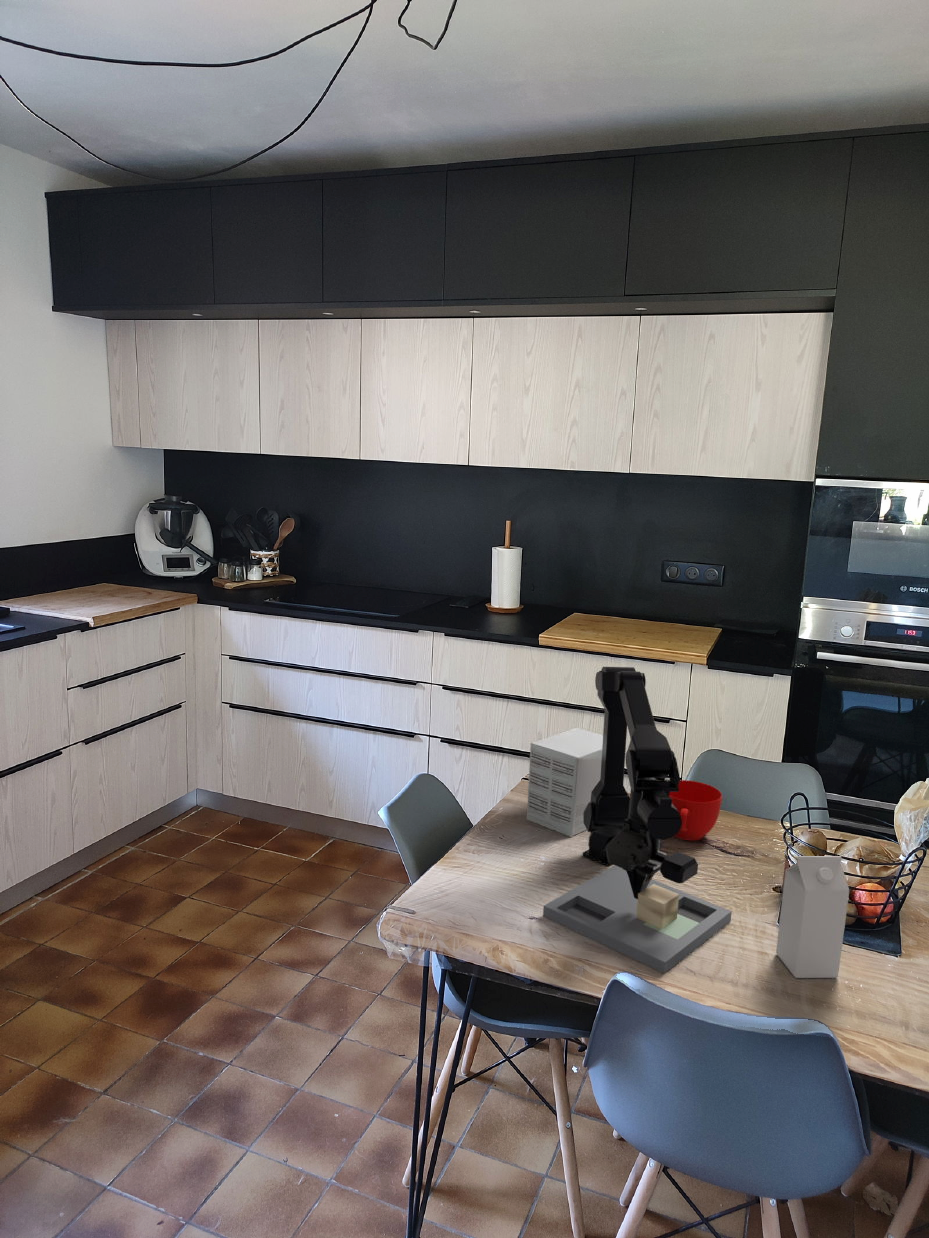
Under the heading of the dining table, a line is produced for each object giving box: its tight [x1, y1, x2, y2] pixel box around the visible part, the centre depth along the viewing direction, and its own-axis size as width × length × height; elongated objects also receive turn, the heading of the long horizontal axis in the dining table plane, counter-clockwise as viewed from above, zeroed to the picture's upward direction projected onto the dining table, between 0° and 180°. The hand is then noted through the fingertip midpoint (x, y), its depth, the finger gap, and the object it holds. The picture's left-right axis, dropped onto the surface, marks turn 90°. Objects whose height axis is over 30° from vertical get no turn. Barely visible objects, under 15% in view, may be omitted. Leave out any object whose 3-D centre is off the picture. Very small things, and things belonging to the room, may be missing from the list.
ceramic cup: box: [669, 779, 723, 842], centre depth 187 cm, size 13×17×10 cm
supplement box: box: [526, 727, 603, 838], centre depth 194 cm, size 17×13×18 cm
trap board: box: [542, 865, 733, 974], centre depth 153 cm, size 23×24×2 cm
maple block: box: [636, 884, 679, 929], centre depth 150 cm, size 5×5×4 cm
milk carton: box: [775, 855, 850, 979], centre depth 139 cm, size 7×7×19 cm
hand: (637, 898), depth 152 cm, fingers closed
